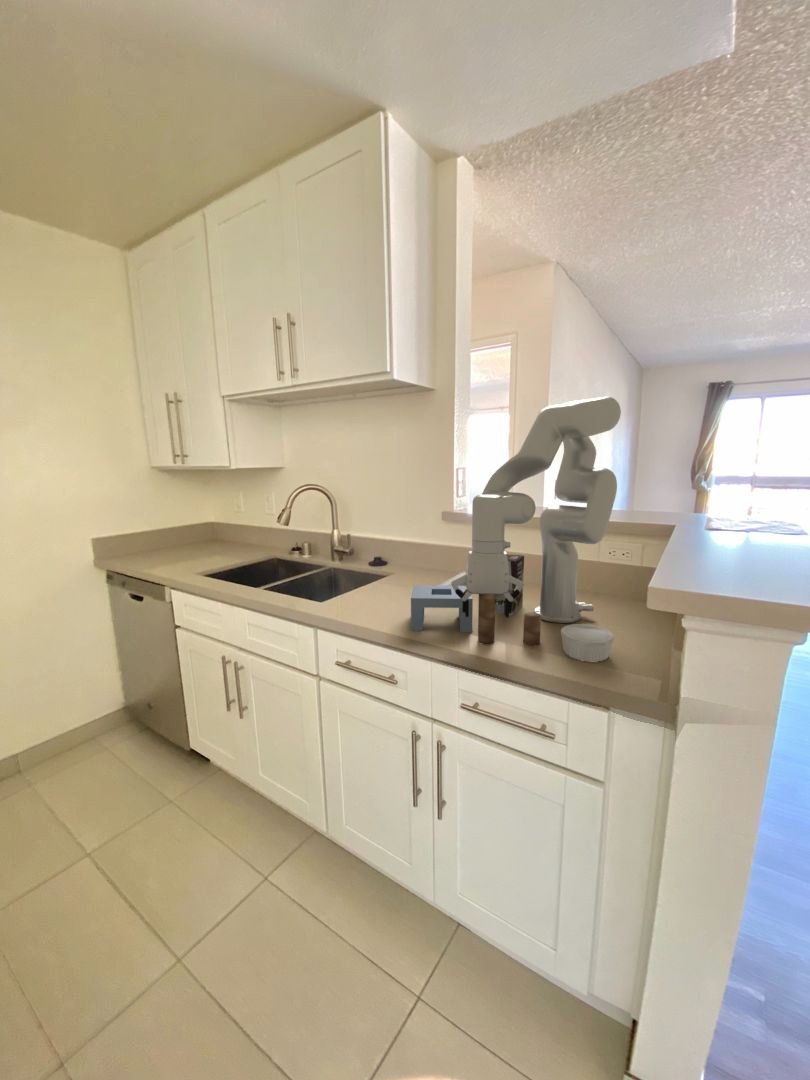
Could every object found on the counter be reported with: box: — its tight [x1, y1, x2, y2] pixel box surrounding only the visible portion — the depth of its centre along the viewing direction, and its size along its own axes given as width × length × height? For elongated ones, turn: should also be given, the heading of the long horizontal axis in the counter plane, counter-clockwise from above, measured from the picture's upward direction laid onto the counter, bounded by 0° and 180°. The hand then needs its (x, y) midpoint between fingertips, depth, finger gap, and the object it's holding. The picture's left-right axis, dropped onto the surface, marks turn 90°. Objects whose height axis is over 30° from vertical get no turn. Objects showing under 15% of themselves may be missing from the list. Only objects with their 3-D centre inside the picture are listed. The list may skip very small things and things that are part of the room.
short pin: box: [522, 611, 542, 647], centre depth 106 cm, size 4×4×7 cm
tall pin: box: [477, 593, 496, 646], centre depth 106 cm, size 4×4×14 cm
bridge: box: [410, 584, 474, 633], centre depth 119 cm, size 16×12×9 cm
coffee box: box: [495, 554, 525, 616], centre depth 129 cm, size 9×6×16 cm
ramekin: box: [560, 623, 615, 662], centre depth 99 cm, size 11×11×5 cm
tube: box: [436, 570, 466, 586], centre depth 147 cm, size 5×5×25 cm
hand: (486, 615), depth 106 cm, fingers open, 9 cm apart
